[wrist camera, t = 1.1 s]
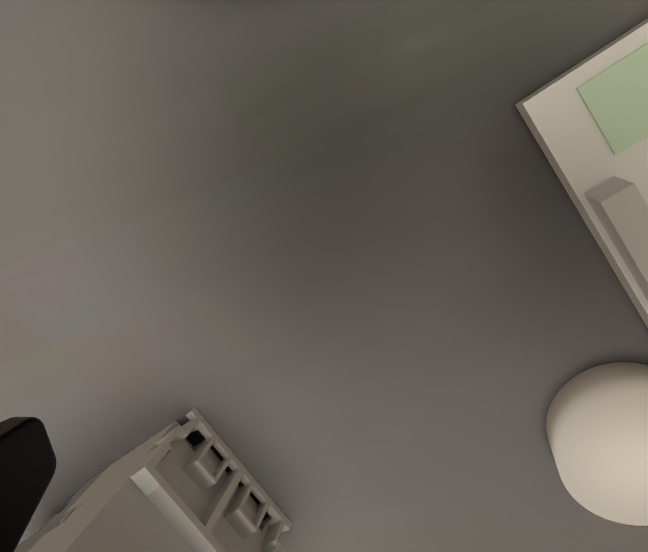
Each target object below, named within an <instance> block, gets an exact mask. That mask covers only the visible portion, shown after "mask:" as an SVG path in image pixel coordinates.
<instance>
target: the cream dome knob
mask: <svg viewBox="0 0 648 552" xmlns="http://www.w3.org/2000/svg"><path fill="white" fill-rule="evenodd" d="M546 432H547V437H548V441H549V444H550V447H551V450H552V453H553V456H554V459H555V462H556V466H557V469H558V472H559V474H560V477H561V480H562V482H563V484H564V486H565V487H566V489H567V490H568V492H569V493H570V494H571V496H572V497H573V498H574V499H575V500H576V501H577V502H578V503H579V504H581V505H582V506H583V507H585V508H586V509H587V510H589V511H591V512H592V513H594V514H596V515H598V516H600V517H602V518H605V519H608V520H610V521H613V522H618V523H622V524H628V525H640V526H648V365H646V364H640V363H632V362H616V363H608V364H603V365H599V366H596V367H593V368H590V369H588V370H585V371H583V372H581V373H580V374H578V375H576V376H575V377H573V378H572V379H570V380H569V381H568V382H567V383H566V384H565V385H563V386H562V387H561V389H560V390H559V391H558V392H557V393H556V395H555V397H554V398H553V400H552V402H551V404H550V406H549V409H548V413H547V418H546Z"/></svg>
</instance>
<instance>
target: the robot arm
mask: <svg viewBox="0 0 648 552" xmlns="http://www.w3.org/2000/svg"><path fill="white" fill-rule="evenodd" d="M55 469H56V457H55V454H54V451H53V448H52V446H51V443H50V440H49V438H48V435H47V432H46V429H45V427H44V424H43V423H42V422H41V421H40V420H39V419H38V418H36V417H12V418H9V419H7V420H5V421H2V422H0V552H14V551H15V549H16V547H17V545H18V543H19V541H20V539H21V537H22V535H23V533H24V531H25V529H26V527H27V525H28V524H29V522H30V520H31V518H32V516H33V514H34V512H35V510H36V508H37V506H38V504H39V502H40V500H41V498H42V496H43V494H44V493H45V491H46V489H47V487H48V485H49V483H50V481H51V479H52V477H53V475H54V473H55Z"/></svg>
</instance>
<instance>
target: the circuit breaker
mask: <svg viewBox="0 0 648 552" xmlns="http://www.w3.org/2000/svg"><path fill="white" fill-rule="evenodd" d="M186 417H187V418H188V419H189V420H190V421H188V422H187V423H185V424H184V425H182V426H181V425H180V424H179V423H178V422H177V421H174V422H173V423H171V424H170V425H169V426H167V427H166V428H164V429H163V430H161V431H160V432H158V433H157V434H155V435H154V436H152V437H151V438H149V439H148V440H146V441H145V442H144V443H142V444H141V445H139V446H138V447H136V448H135V449H133V450H132V451H130V452H129V453H127V454H126V455H124V456H123V457H122V458H120V459H119V460H117V461H116V462H114V463H113V464H111V465H110V466H108V467H107V468H105V469H104V470H103V471H101V472H100V473H98V474H97V475H95V476H94V477H92V478H91V479H90V480H88V481H87V482H86V484H85V485H84V486H83V487H82V488H81V489H80V490H79V491H78V492H77V493H76V494H75V495H74V496H73V497H72V498H71V499H70V500H69V501H68V502H67V503H66V505H67V506H66V507H65V508H64V509H63V510H62V511H61V512H60V513H59V514H55V515H54V516H53V518H52V519H51V520H50V521H49V522H48V523H47V524H46V525H45V526H44V527H43V528H42V529H41V530H40V531H39V532H37V533H36V534H34V535H33V536H31V537H30V538H28V539H27V540H25V541H24V542H22V543H21V544H19V545H18V546H17V547H16V549H15V551H14V552H281V551H282V549H283V547H282V546H281V545H280V544H279V542H278V540H279V537H280V535H281V532H282V531H283V532H285V531H287V530H289V529H290V527H291V524H292V523H291V522H290V521H289V520H288V519H287V517H286V516H285V515H284V514H283V513H282V511H281V510H280V509H279V508H278V507H277V505H276V504H275V503H274V502H273V501H272V499H271V498H270V497H269V496H268V495H267V493H266V492H265V491H264V490H263V488H262V487H261V486H260V485H259V484H258V482H257V481H256V480H255V479H254V478H253V476H252V475H251V474H250V473H249V472H248V470H247V469H246V468H245V467H244V466H243V464H242V463H241V462H240V461H239V460H238V458H237V457H236V456H235V455H234V454H233V452H232V451H231V450H230V449H229V448H228V446H227V445H226V444H225V443H224V442H223V440H222V439H221V438H220V437H219V436H218V434H217V433H216V432H215V431H214V430H213V428H212V427H211V426H210V425H209V424H208V422H207V421H206V420H205V419H204V418H203V416H202V415H201V414H200V413H199V412H198V410H197V409H196V408H193V409H192V410H191V411H189V412H188V413H187V414H186ZM196 430H199V431H200V433H201V434H202V435H203V436H204V437H205V440H204V441H202V442H201V443H199V444H197V445H196V446H194V447H193V446H192V445H191V444H190V442H189V441H188V440H187V439H186V437H187V436H188V435H189V434H190V433H191V432H194V431H196ZM212 445H213V446H214V447H215V449H216V450H217V451H218V452H219V453H220V455H221V456H222V457H223V458H224V460H223V461H221V460H220V459H219V458H218V457H217V456H216V454H215V453H214V452H213V451H212V450H211V448H210V447H211V446H212ZM227 466H229V468H230V469H231V470H232V471H230V472H229V473H227V471H226V470H225V469H226V467H227ZM240 481H241V482H242V483H243V484H244V485H243V486H241V487H239V486H238V484H239V482H240ZM250 492H252V493H253V494H254V495H255V497H256V498H257V499H258V500H259V501H260V503H261V504H259V505H257V503H256V502H255V501H254V500H253V499H252V497H251V496H250V495H249V494H250ZM266 511H267V513H268V514H269V515H270V517H268V518H266V519H265V520H263V518H264V515H265V513H266ZM262 520H263V521H262Z"/></svg>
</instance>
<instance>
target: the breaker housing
mask: <svg viewBox="0 0 648 552" xmlns="http://www.w3.org/2000/svg"><path fill="white" fill-rule="evenodd" d="M515 106H516V107H517V109H518V111H519V112H520V114H521V116H522V118H523V119H524V121H525V123H526V124H527V126H528V128H529V129H530V131H531V133H532V134H533V136H534V138H535V139H536V141H537V143H538V144H539V146H540V148H541V149H542V151H543V153H544V155H545V156H546V158H547V160H548V161H549V163H550V165H551V166H552V168H553V170H554V171H555V173H556V175H557V176H558V178H559V180H560V181H561V183H562V185H563V186H564V188H565V190H566V192H567V193H568V195H569V197H570V198H571V200H572V202H573V203H574V205H575V207H576V208H577V210H578V212H579V213H580V215H581V217H582V218H583V220H584V222H585V223H586V225H587V227H588V229H589V230H590V232H591V234H592V235H593V237H594V239H595V240H596V242H597V244H598V245H599V247H600V249H601V250H602V252H603V254H604V255H605V257H606V259H607V260H608V262H609V264H610V266H611V267H612V269H613V271H614V272H615V274H616V276H617V277H618V279H619V281H620V282H621V284H622V286H623V287H624V289H625V291H626V292H627V294H628V296H629V298H630V299H631V301H632V303H633V304H634V306H635V308H636V309H637V311H638V313H639V314H640V316H641V318H642V319H643V321H644V323H645V324H646V326H647V328H648V18H647V19H646V20H644V21H643V22H641V23H639V24H638V25H636V26H635V27H633V28H632V29H630V30H629V31H627V32H626V33H624V34H623V35H621V36H620V37H618V38H616V39H615V40H613V41H612V42H610V43H609V44H607V45H606V46H604V47H603V48H601V49H600V50H598V51H596V52H595V53H593V54H592V55H590V56H589V57H587V58H586V59H584V60H583V61H581V62H580V63H578V64H577V65H575V66H573V67H572V68H570V69H569V70H567V71H566V72H564V73H563V74H561V75H560V76H558V77H557V78H555V79H553V80H552V81H550V82H549V83H547V84H546V85H544V86H543V87H541V88H540V89H538V90H537V91H535V92H534V93H532V94H530V95H529V96H527V97H526V98H524V99H523V100H521V101H520V102H518V103H517V104H515Z"/></svg>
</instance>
